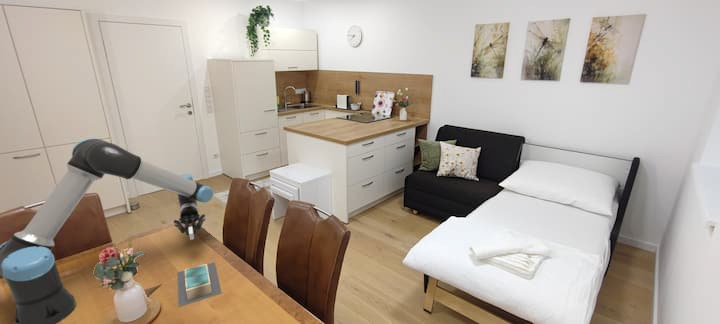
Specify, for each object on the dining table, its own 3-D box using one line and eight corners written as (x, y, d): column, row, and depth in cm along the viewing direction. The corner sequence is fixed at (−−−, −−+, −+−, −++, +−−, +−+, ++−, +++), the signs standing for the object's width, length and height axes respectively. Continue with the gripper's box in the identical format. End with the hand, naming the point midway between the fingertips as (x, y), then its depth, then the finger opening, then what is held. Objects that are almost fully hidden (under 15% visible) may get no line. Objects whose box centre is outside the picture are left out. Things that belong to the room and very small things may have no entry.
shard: (162, 287, 125) (161, 283, 125) (164, 298, 119) (163, 294, 119) (128, 298, 120) (127, 294, 119) (128, 311, 114) (127, 306, 113)
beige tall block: (186, 278, 128) (187, 300, 117) (184, 268, 127) (185, 290, 115) (208, 271, 132) (212, 292, 120) (206, 262, 131) (210, 282, 119)
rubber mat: (178, 308, 114) (178, 307, 113) (177, 274, 132) (177, 272, 132) (221, 295, 120) (221, 293, 120) (215, 263, 138) (214, 262, 138)
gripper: (205, 217, 158) (210, 240, 138) (175, 223, 152) (175, 248, 133) (203, 203, 156) (207, 224, 136) (172, 209, 150) (171, 232, 130)
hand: (191, 236), depth 134 cm, fingers closed
